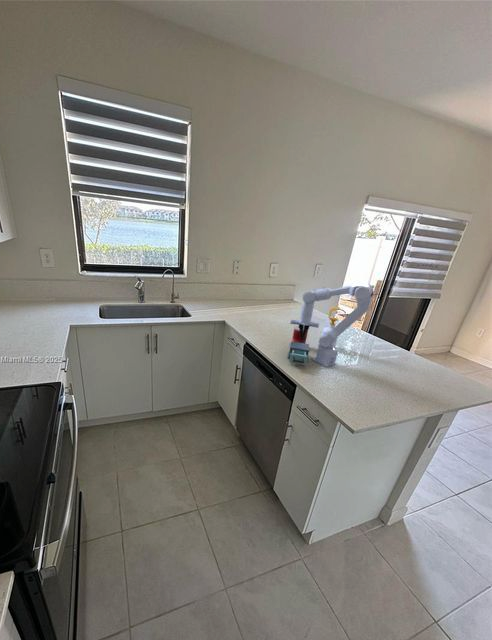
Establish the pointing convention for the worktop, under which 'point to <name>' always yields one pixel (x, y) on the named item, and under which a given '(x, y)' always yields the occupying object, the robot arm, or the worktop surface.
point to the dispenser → (299, 347)
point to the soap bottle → (331, 324)
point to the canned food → (298, 335)
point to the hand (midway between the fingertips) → (301, 338)
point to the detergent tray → (298, 357)
